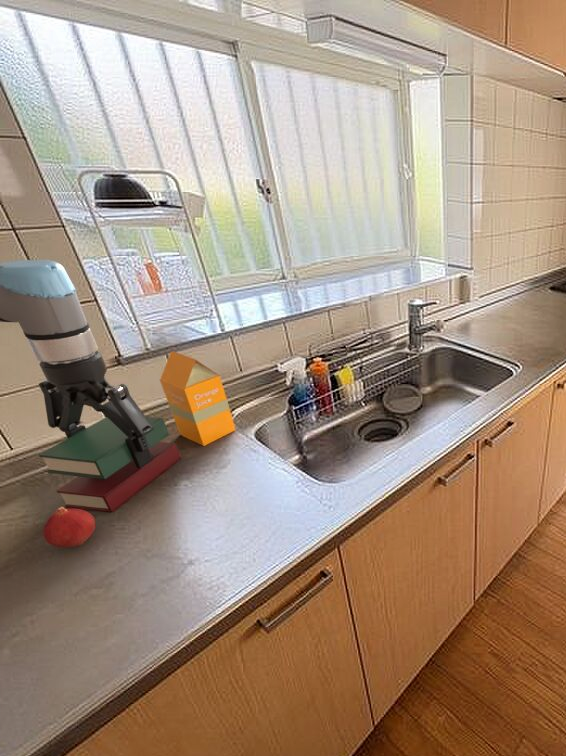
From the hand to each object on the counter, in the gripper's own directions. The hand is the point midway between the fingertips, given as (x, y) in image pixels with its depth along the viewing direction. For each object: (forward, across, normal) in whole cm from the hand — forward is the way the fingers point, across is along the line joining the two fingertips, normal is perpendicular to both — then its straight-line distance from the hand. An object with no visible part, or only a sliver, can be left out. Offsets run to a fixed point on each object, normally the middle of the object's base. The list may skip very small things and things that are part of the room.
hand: (116, 460), depth 81 cm
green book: (-2, 0, 0) cm, 2 cm away
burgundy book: (+5, 0, 0) cm, 5 cm away
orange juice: (+5, -3, -18) cm, 19 cm away
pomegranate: (+5, -6, +15) cm, 17 cm away
